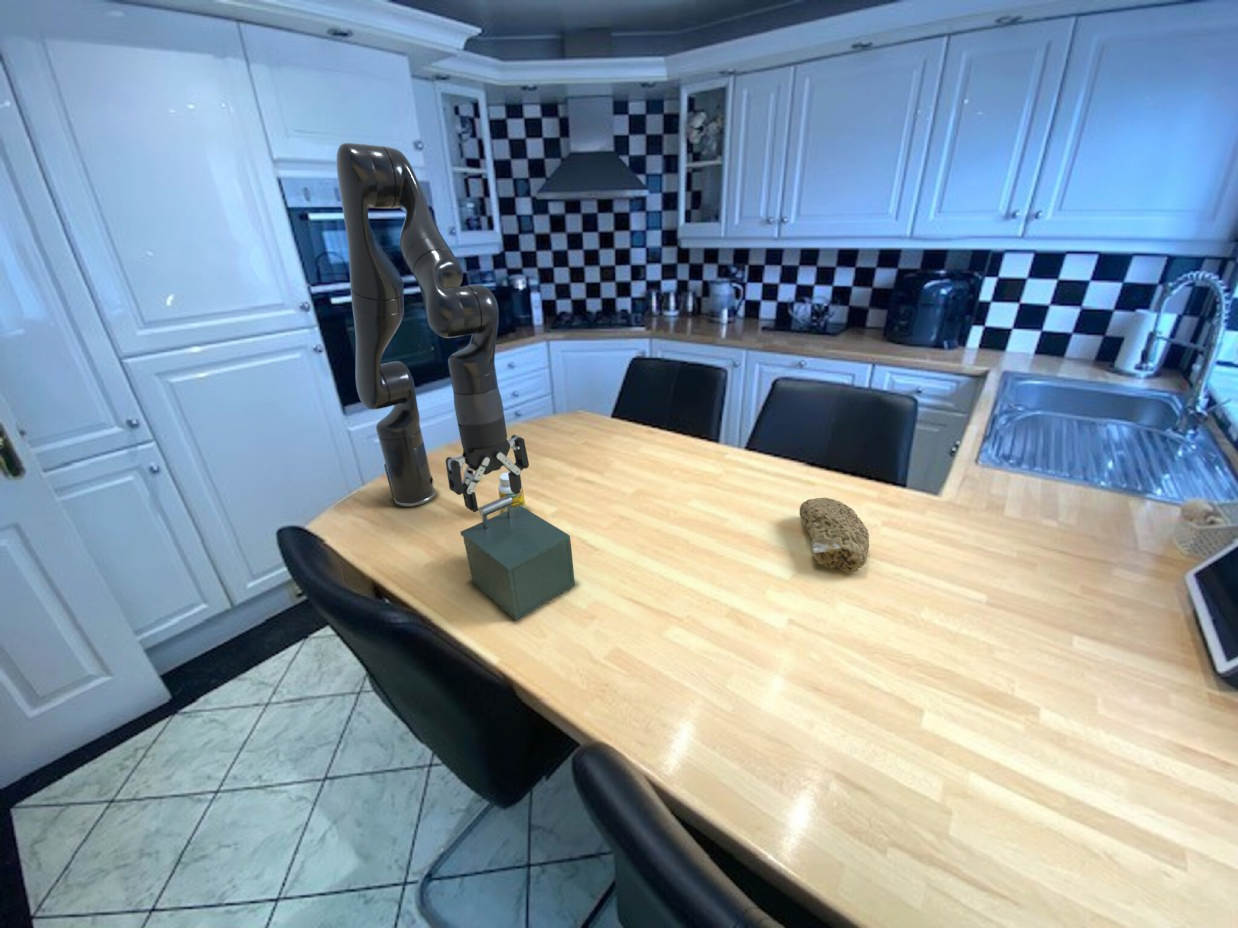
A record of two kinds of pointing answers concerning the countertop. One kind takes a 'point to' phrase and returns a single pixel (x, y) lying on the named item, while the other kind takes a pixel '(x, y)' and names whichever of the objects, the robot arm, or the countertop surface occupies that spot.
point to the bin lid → (513, 534)
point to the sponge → (835, 534)
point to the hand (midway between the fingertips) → (495, 501)
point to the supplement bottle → (510, 492)
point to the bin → (523, 578)
